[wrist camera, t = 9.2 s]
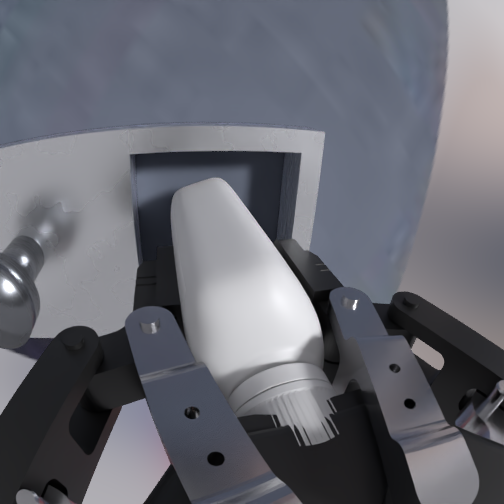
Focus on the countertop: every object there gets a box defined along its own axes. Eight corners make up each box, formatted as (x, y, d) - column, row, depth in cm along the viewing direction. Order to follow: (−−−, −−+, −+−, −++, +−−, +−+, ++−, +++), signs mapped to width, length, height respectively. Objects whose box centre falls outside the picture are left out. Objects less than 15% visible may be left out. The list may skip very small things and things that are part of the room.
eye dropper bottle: (156, 284, 14) (195, 561, 4) (177, 167, 12) (275, 508, 2) (243, 292, 16) (350, 523, 6) (275, 186, 14) (498, 406, 3)
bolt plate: (-13, 148, 10) (-91, 186, 5) (306, 126, 14) (384, 151, 9) (27, 315, 15) (-3, 394, 9) (285, 298, 19) (328, 373, 13)
